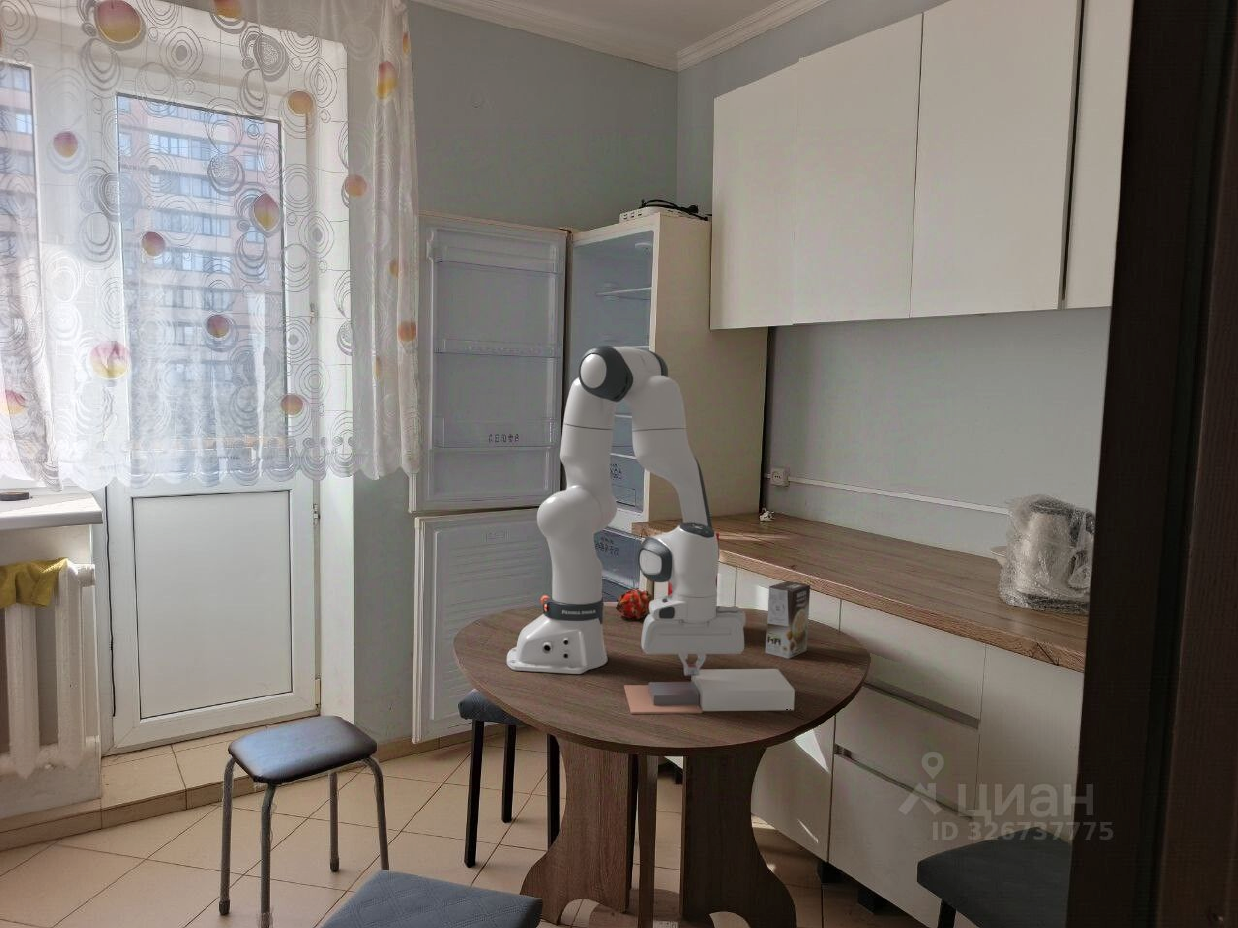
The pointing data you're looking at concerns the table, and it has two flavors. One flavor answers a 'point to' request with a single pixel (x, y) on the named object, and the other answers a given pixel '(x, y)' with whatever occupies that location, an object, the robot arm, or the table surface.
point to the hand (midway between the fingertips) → (691, 674)
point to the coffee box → (787, 619)
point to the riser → (743, 690)
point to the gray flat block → (673, 693)
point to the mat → (643, 703)
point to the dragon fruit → (634, 603)
